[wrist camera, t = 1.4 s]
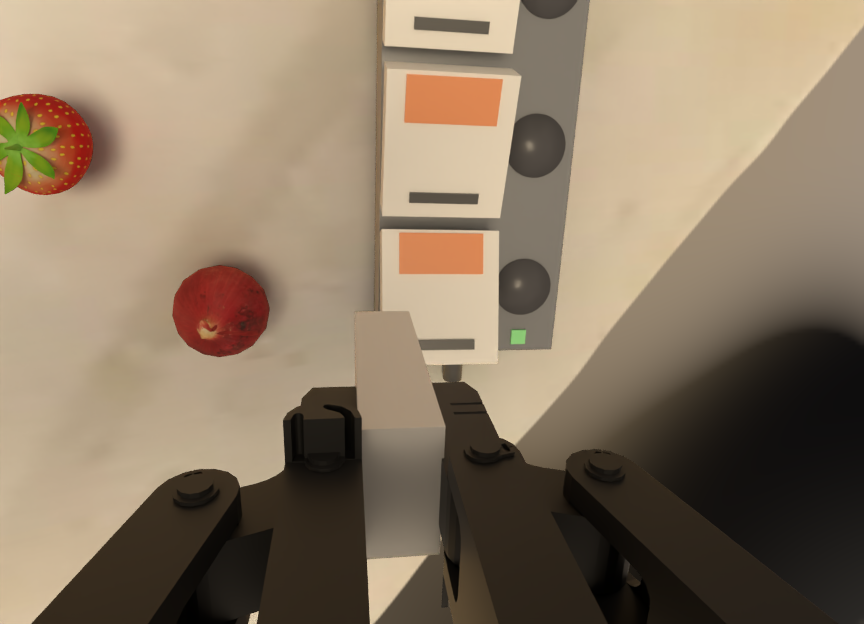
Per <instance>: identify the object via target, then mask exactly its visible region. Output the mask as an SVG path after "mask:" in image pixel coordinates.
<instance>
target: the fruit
mask: <svg viewBox="0 0 864 624" xmlns="http://www.w3.org/2000/svg"><path fill="white" fill-rule="evenodd" d="M92 154H93V141H92V135H91V133H90V130H89V128H88V126H87V124H86V123H85V121H84V120H83V118H82V117H81V116H80V115H79V114H78V113H77V111H76V110H75V109H73V108H72V107H71V106H70V105H68V104H67V103H66V102H64V101H62V100H60V99H57V98H55V97H52V96H47V95H41V94H23V95H17V96H12V97H8V98H5V99H2V100H0V175H2V176H3V177H4V183H5V194H7V193H9V192H10V191H12V190H14V189H15V188H16V187H19V188H21V189H22V190H25V191H28V192H30V193H33V194H39V195H51V194H57V193H61V192H63V191H66V190H68V189H70V188H72V187H73V186H74V185H76V184H77V183H78V182H79V181H80V180H81V178H82V177H83V176H84V174H85V173H86V171H87V169H88V167H89V165H90V162H91V158H92Z"/></svg>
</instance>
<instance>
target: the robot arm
mask: <svg viewBox="0 0 864 624" xmlns="http://www.w3.org/2000/svg"><path fill="white" fill-rule="evenodd" d="M283 428H284V448H285V467H284V470H283V471H282V472H281V473H279V474H278V475H276V476H274V477H272V478H270V479H268V480H266V481H263V482H260V483H256V484H253V485H249V486H245V487H241V488H240V486H239V483H238V480H237V478H236V477H235V476H233V475H232V474H230V473H229V472H225V471H221V470H217V469H199V470H194V471H189V472H185V473H182V474H180V475H178V476H175V477H173V478H171V479H169V480H167V481H166V482H164V483H163V484H162V485H161V486H159V487H158V488H157V489H156V490H155V491H154V492H153V493H152V494H151V495H150V496H149V497H148V498H147V499H146V501H145V502H144V503H143V504H142V505H141V506H140V507H139V508H138V509H137V510H136V511H135V512H134V513H133V515H132V516H131V517H130V518H129V519H128V520H127V521H126V522H125V523H124V524H123V525H122V526H121V528H120V529H119V530H118V531H117V532H116V533H115V534H114V535H113V536H112V537H111V538H110V539H109V540H108V542H107V543H106V544H105V545H104V546H103V547H102V548H101V549H100V550H99V551H98V552H97V553H96V555H95V556H94V557H93V558H92V559H91V560H90V561H89V562H88V563H87V564H86V565H85V566H84V567H83V569H82V570H81V571H80V572H79V573H78V574H77V575H76V576H75V577H74V578H73V579H72V580H71V581H70V583H69V584H68V585H67V586H66V587H65V588H64V589H63V590H62V591H61V592H60V593H59V594H58V596H57V597H56V598H55V599H54V600H53V601H52V602H51V603H50V604H49V605H48V606H47V607H46V608H45V610H44V611H43V612H42V613H41V614H40V615H39V616H38V617H37V618H36V619H35V620H34V621H33V622H32V624H248V622H249V618H250V614H251V613H254V612H257V611H259V614H258V620H257V624H370V619H369V598H368V576H367V559H377V558H392V557H406V556H421V555H434V554H435V555H436V554H440V536H441V537H442V541H443V546H444V568H443V589H442V607H448V600H449V605H450V610H451V615H452V619H453V624H838V623H837V622H836V621H834V620H833V619H832V618H831V617H829V616H828V615H827V614H826V613H824V612H823V611H822V610H821V609H819V608H818V607H817V606H815V605H814V604H813V603H812V602H810V601H809V600H808V599H807V598H805V597H804V596H803V595H801V594H800V593H799V592H798V591H796V590H795V589H794V588H793V587H791V586H790V585H789V584H787V583H786V582H785V581H784V580H782V579H781V578H780V577H779V576H777V575H776V574H775V573H774V572H772V571H771V570H770V569H769V568H767V567H766V566H765V565H763V564H762V563H761V562H760V561H758V560H757V559H756V558H754V557H753V556H752V555H751V554H750V553H748V552H747V551H746V550H744V549H743V548H742V547H741V546H739V545H738V544H737V543H735V542H734V541H733V540H732V539H730V538H729V537H728V536H727V535H725V534H724V533H723V532H722V531H720V530H719V529H718V528H717V527H715V526H714V525H713V524H711V523H710V522H709V521H708V520H706V519H705V518H704V517H703V516H701V515H700V514H699V513H697V512H696V511H695V510H694V509H692V508H691V507H690V506H689V505H687V504H686V503H685V502H683V501H682V500H681V499H680V498H678V497H677V496H676V495H675V494H673V493H672V492H671V491H669V490H668V489H667V488H666V487H665V486H663V485H662V484H661V483H659V482H658V481H657V480H656V479H654V478H653V477H651V475H649V474H648V473H647V472H645V471H644V470H643V469H642V468H640V467H639V466H638V465H637V464H635V463H634V462H632V461H631V460H629V459H627V458H625V457H624V456H621V455H618V454H615V453H613V452H611V451H606V450H603V451H602V450H599V449H598V450H597V449H593V450H582V451H579V452H576V453H573V454H572V455H571V456H570V457H569V458H568V459H567V460H566V468H565V471H562V470H555V469H549V468H542V467H537V466H533V465H530V464H527V463H526V462H525V460H524V458H523V456H522V454H521V453H520V451H519V450H518V449H517V448H516V447H515V445H514V444H512V443H510V442H508V441H506V440H504V439H502V438H499V436H498V434H497V432H496V430H495V428H494V426H493V424H492V421H491V419H490V417H489V415H488V413H487V411H486V409H485V407H484V405H483V404H482V400H481V398H480V396H479V394H478V392H477V391H476V390H475V389H473V388H472V387H470V386H469V385H468V384H466V383H465V382H446V383H432V382H431V379H430V376H429V373H428V370H427V366H426V363H425V360H424V357H423V354H422V351H421V348H420V344H419V341H418V338H417V335H416V332H415V329H414V325H413V322H412V319H411V316H410V313H409V311H359V312H355V387H323V388H312V389H311V390H310V391H309V392H308V393H307V394H306V395H305V396H304V397H303V398H302V401H301V406H299V407H296V408H295V409H293V410H292V411H290V412H288V413H287V415H286V416H285V418H284V420H283ZM629 564H631V565H632V566H633V567H634V568H635V569H636V570H637V572H638V573H639V574H640V576H641V577H642V580H641V583H640V582H639V581H638V580H636V579H635V578H634V577H633V576H632V575H631V574H630V572H629V571H628V570H629Z"/></svg>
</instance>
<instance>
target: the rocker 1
mask: <svg viewBox="0 0 864 624" xmlns="http://www.w3.org/2000/svg"><path fill="white" fill-rule="evenodd" d="M519 4H520V0H383V34H382V40H383V43H384V46H396V47H412V48H428V49H444V50H460V51H476V52H492V53H508V54H513V47H514V40H515V33H516V26H517V18H518V11H519Z"/></svg>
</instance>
